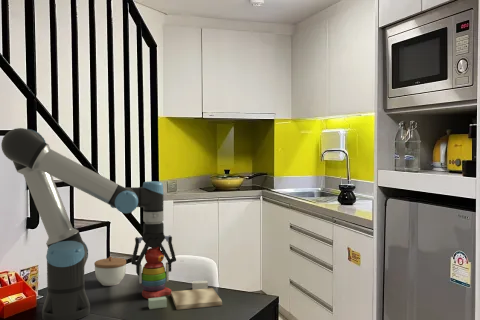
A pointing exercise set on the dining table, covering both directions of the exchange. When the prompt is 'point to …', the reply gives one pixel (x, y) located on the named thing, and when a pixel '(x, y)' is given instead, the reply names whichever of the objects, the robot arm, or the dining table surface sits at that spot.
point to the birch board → (195, 298)
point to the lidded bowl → (110, 270)
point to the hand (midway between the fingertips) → (153, 281)
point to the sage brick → (157, 302)
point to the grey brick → (199, 285)
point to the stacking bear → (154, 275)
